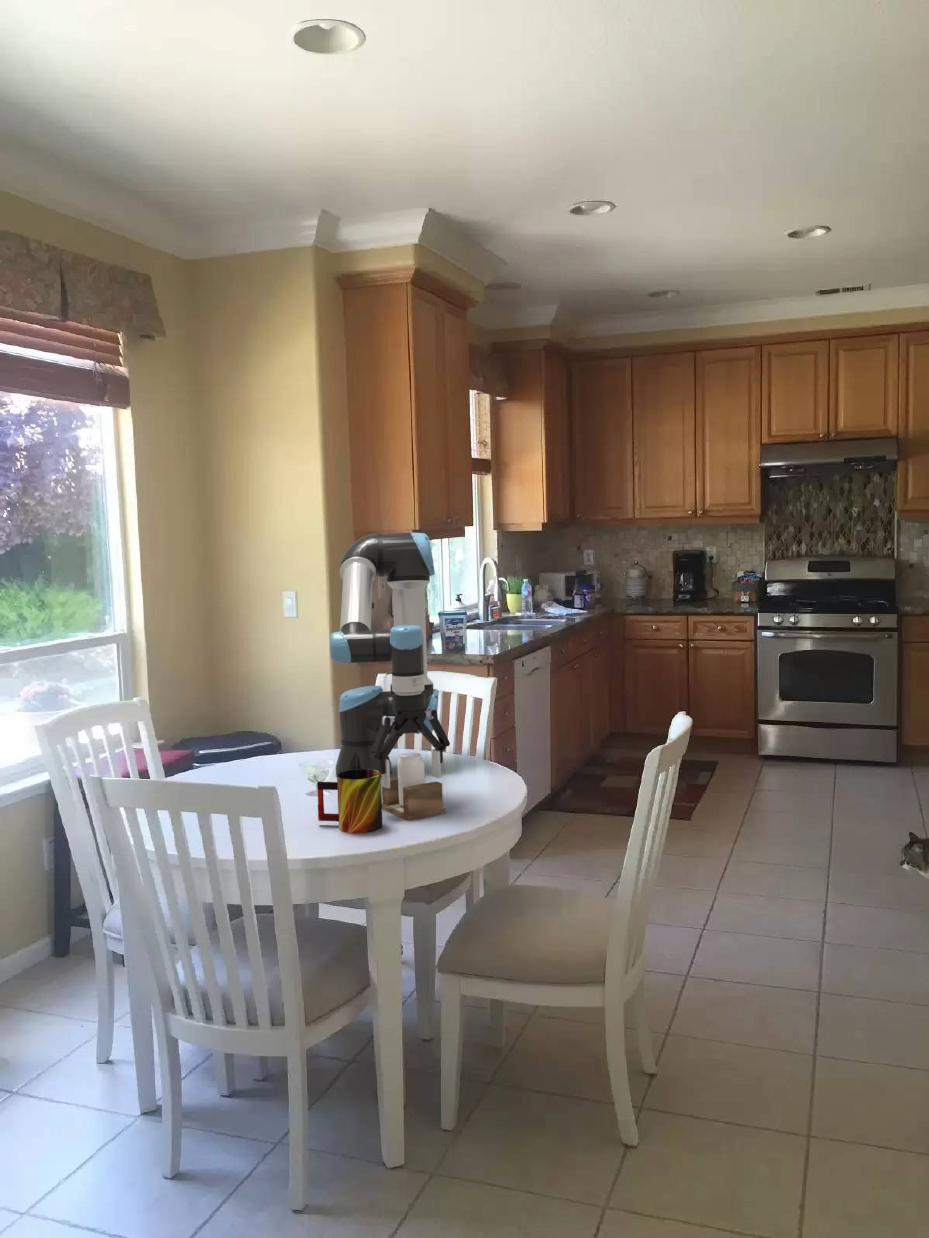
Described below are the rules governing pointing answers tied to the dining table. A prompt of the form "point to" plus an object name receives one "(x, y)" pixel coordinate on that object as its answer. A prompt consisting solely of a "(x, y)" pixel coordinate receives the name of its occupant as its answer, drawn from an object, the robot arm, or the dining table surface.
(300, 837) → the dining table surface
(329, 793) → the dining table surface
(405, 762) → the beverage can
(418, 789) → the post bracket
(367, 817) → the mug
